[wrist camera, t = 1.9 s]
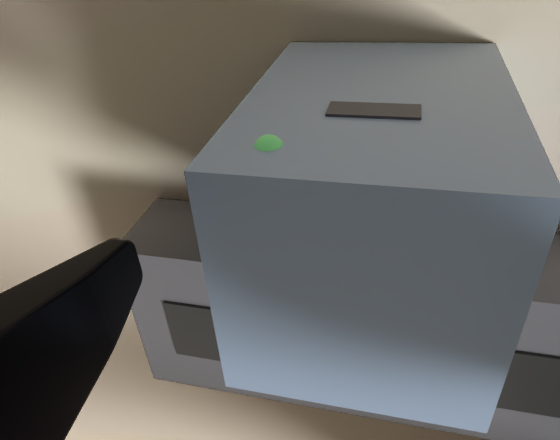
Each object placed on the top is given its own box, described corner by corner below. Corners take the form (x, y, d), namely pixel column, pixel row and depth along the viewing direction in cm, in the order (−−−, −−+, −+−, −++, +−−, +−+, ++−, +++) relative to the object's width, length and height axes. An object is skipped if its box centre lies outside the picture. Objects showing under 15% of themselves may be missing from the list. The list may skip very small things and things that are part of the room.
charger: (448, 286, 16) (461, 507, 10) (299, 269, 17) (240, 459, 11) (497, 37, 11) (570, 187, 6) (290, 35, 12) (182, 161, 7)
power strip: (811, 412, 15) (886, 515, 13) (185, 319, 20) (153, 380, 17) (953, 268, 12) (1094, 371, 9) (157, 198, 17) (110, 253, 14)
